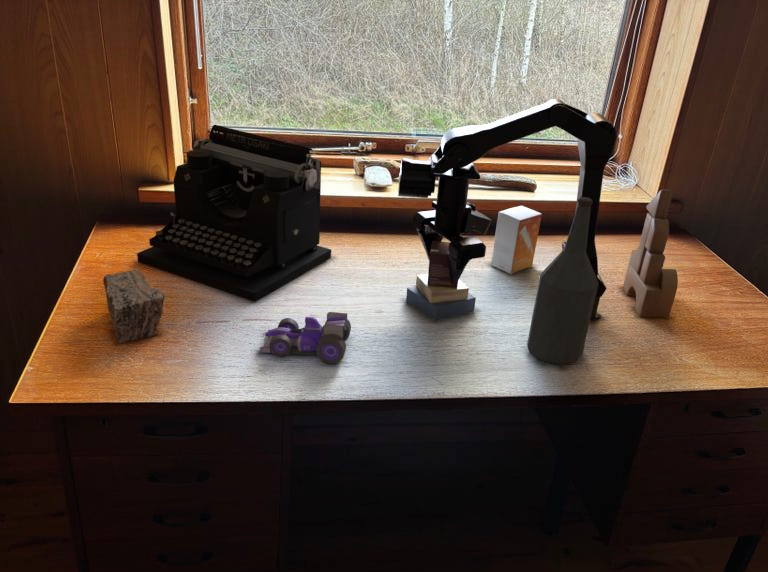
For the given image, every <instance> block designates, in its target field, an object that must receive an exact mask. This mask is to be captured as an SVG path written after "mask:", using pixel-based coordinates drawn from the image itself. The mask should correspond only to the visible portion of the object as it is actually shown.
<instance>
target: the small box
mask: <svg viewBox="0 0 768 572" xmlns="http://www.w3.org/2000/svg"><path fill="white" fill-rule="evenodd" d="M497 214H498V215H497V220H496V227H495V233H494V241H493V248H492V254H491V260H490V266H492V267H495V268H497V269H498V270H501V271H503V272H506V273H507V274H510V275H512V274H514V273H517V272H520V271H522V270H525V269H527V268H531V267H533V263H534V258H535V253H536V247H537V242H538V237H539V231H540V227H541V220H542V215H543V213H541V212H539V211H537V210H534V209H531V208H529V207H526V206H524V205H518V206H514V207H510V208H507V209H504V210H499V211H498V213H497Z"/></svg>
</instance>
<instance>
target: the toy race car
mask: <svg viewBox="0 0 768 572" xmlns="http://www.w3.org/2000/svg"><path fill="white" fill-rule="evenodd" d="M304 323H305V324H304V327H302V328H299V323H298V322H297V321H296V320H295V319H294V318H290V317H286V318H282V319H281V320H280V321H279V322H278V325H277V327H274V328H271V329H268V330H267V331H266V332H265V333H264V336H265V337H267V338H266V341H265V342H264V345H263V346H260V347H259V353H261V354H274V355H275V356H278V357H286V356H287V355H289V354H290V355H300V356H301V355H302V356H304V355H305V356H306V355H316V356H317V357H318V358H319V360H320V361H321V362H323V363H325V364H329V365H334V364H335V365H336V364H338V363H340V362H341V361H342V360H343V359H344V357H345V354H346V348H347V345H346V342H347V340H348V339H349V337H350V335H351V330H352V324H351V322H350V321H349V319H348V313H347V312H346V313H345V312H336V311H329V312H327V313H326V321H325V323H324V324H323V325H321V323H320V322H319V321H318V319H317V318H315V317H312V316H305V318H304Z"/></svg>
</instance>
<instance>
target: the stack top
mask: <svg viewBox="0 0 768 572" xmlns="http://www.w3.org/2000/svg"><path fill="white" fill-rule="evenodd" d="M415 279H416V280H415V286H416V287H417V288H418V289H419V290H420V291H421V292H422V294H423V295H424V296H425V297H426V298H427V299H428V301H429V302H430V303H439V302H448V301H457V300H465V299H468V293H469V290H470V288H469V287H468V286H467V285H466V283H465V282H463V280H461V278H459V280H458V286H457V288H450V287H439V286H428V273H425V274H416V278H415Z"/></svg>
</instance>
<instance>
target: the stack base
mask: <svg viewBox="0 0 768 572" xmlns="http://www.w3.org/2000/svg"><path fill="white" fill-rule="evenodd" d="M476 299H477V298H476V297H475V296H474V295H472V294H471V293H469V292H468V299H465V300H457V301H448V302H439V303H430V302H429V301H428V299H427V298H426V297H425V296H424V295H423V294H422V292H421V291H420V290H419V289H418V288H417V287H416V285H413V286H409V287H406V297H405V302H407V303H408V304H410V305H411V306H413V307H414V308H416V309H417V310H418V311H420V312H421V313H423V314H424V315H425V316H426V317H428V318H429V319H431V320H432V321H434V322H438V321H442V320H445V319H451V318H453V317H457V316H459V315H463V314H467V313H470V312H473V311H475V307H476Z"/></svg>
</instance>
